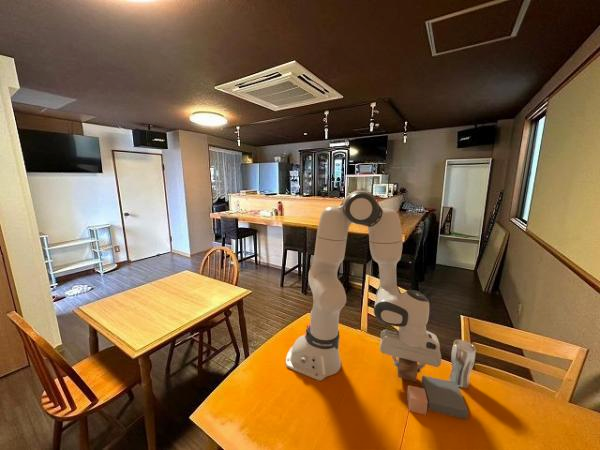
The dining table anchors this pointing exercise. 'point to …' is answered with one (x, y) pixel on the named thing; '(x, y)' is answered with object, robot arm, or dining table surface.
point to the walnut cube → (407, 369)
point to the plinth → (444, 397)
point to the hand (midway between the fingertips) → (406, 368)
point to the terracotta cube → (417, 399)
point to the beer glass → (462, 362)
